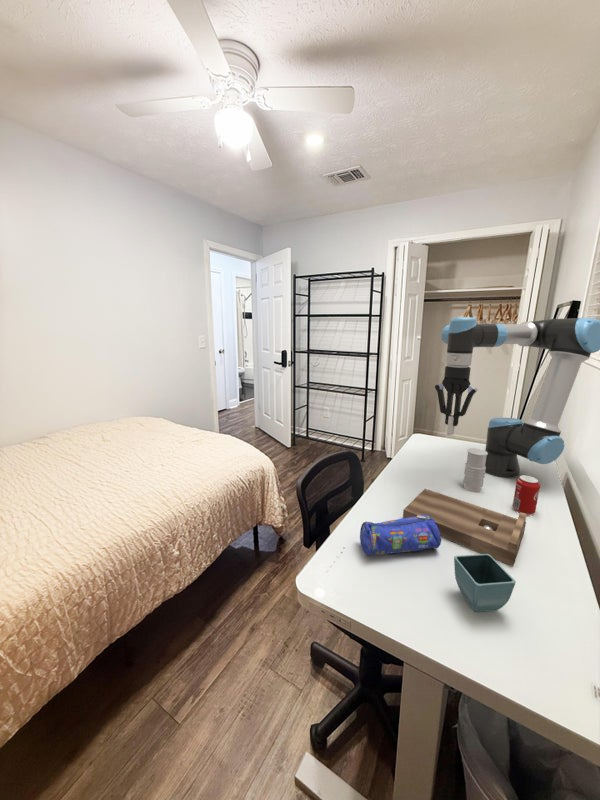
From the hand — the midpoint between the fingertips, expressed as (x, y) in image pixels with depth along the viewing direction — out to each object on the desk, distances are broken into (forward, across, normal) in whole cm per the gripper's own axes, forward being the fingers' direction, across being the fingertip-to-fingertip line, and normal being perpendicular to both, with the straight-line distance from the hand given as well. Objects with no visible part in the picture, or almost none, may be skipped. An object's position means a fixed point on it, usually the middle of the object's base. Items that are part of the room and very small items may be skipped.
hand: (450, 434), depth 110 cm
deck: (+24, +10, -14) cm, 30 cm away
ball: (+23, +17, -14) cm, 32 cm away
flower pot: (+25, +21, -41) cm, 52 cm away
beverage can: (+25, +23, +9) cm, 35 cm away
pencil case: (+25, 0, -36) cm, 44 cm away
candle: (+25, +6, +15) cm, 29 cm away
